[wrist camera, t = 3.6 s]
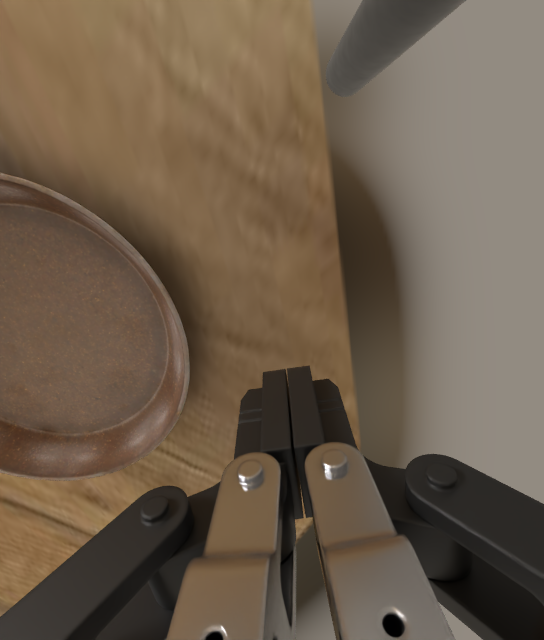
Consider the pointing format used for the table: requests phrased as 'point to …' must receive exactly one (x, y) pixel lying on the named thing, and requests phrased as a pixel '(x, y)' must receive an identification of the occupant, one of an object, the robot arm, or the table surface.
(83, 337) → the plant saucer
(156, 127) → the table surface
